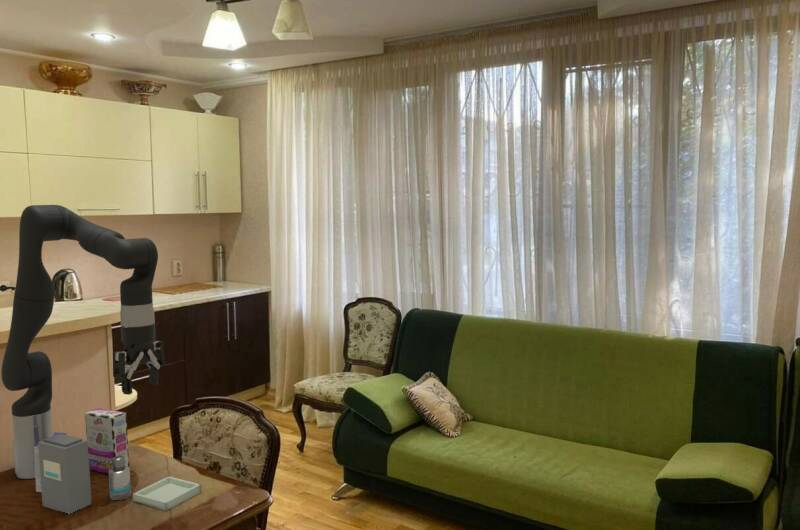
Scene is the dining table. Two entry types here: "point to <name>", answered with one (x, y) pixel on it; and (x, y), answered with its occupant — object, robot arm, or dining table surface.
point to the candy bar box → (106, 438)
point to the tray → (167, 493)
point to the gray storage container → (64, 473)
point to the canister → (119, 479)
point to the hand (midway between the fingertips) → (141, 389)
